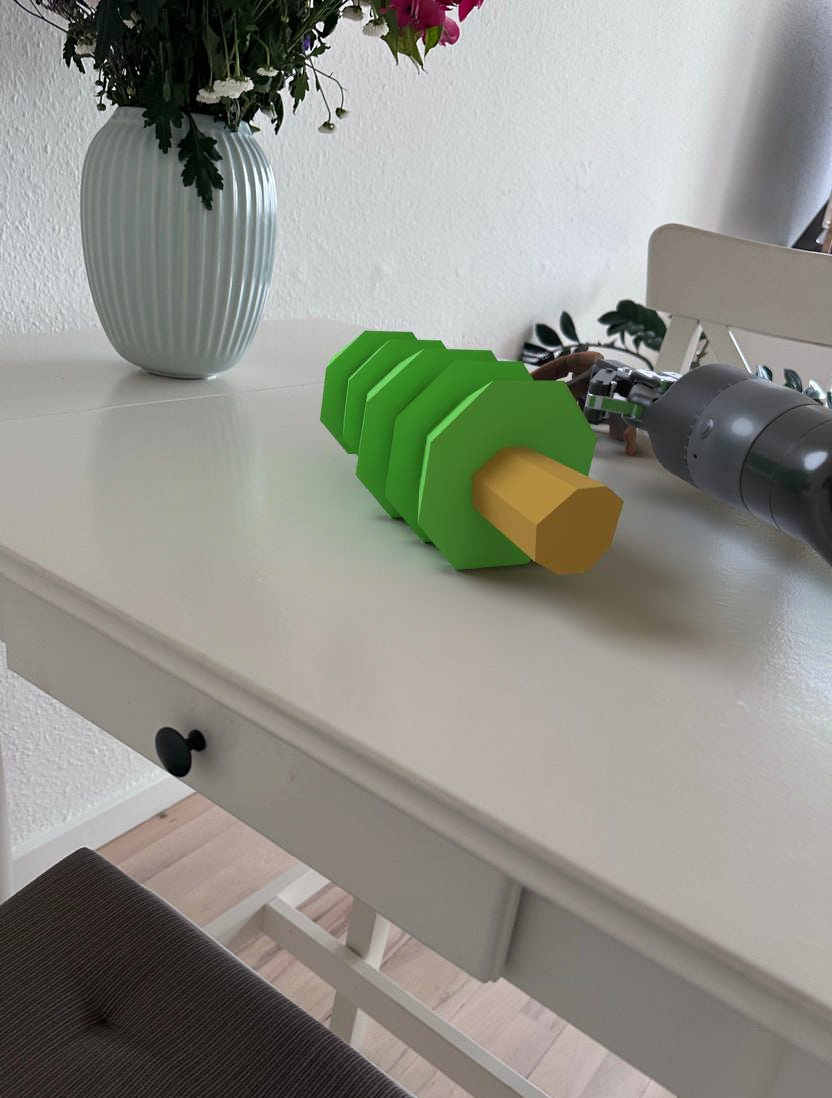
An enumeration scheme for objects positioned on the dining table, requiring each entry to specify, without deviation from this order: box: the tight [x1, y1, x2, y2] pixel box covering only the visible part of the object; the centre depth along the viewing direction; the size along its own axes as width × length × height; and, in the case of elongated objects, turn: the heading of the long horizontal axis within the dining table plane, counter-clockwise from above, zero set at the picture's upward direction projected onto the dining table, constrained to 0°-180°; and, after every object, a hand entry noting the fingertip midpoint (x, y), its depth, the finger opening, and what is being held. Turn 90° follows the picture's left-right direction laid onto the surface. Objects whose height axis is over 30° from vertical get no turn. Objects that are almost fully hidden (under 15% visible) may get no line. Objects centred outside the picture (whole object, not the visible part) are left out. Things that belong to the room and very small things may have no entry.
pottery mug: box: [529, 350, 638, 456], centre depth 80 cm, size 12×10×8 cm
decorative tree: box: [319, 330, 625, 576], centre depth 57 cm, size 11×12×30 cm
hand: (601, 372), depth 73 cm, fingers closed
